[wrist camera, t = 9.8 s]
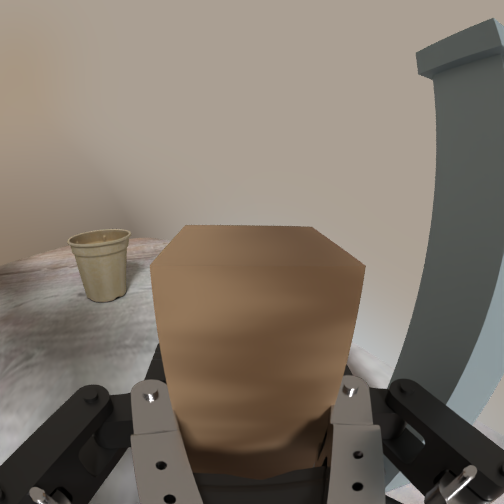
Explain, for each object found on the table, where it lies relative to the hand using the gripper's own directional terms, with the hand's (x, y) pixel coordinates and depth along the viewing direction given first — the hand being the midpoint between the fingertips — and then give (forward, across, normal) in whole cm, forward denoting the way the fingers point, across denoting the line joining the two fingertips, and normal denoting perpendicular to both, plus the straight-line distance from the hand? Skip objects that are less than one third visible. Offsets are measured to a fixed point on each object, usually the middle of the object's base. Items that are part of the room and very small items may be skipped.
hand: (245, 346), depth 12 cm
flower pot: (+25, +19, +9) cm, 33 cm away
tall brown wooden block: (-3, 0, +7) cm, 7 cm away
